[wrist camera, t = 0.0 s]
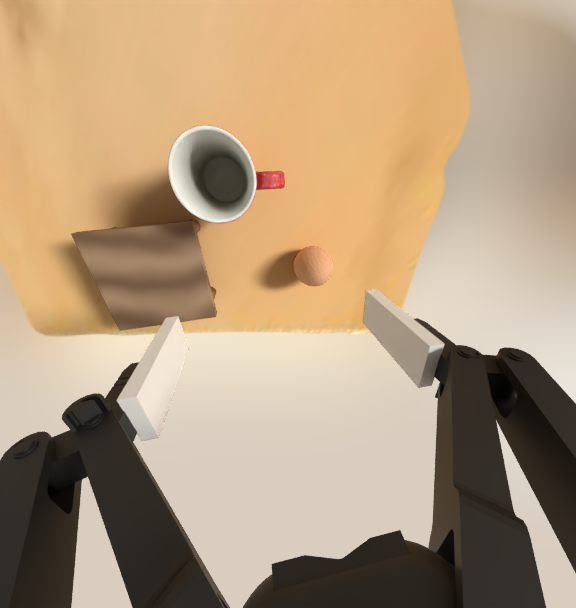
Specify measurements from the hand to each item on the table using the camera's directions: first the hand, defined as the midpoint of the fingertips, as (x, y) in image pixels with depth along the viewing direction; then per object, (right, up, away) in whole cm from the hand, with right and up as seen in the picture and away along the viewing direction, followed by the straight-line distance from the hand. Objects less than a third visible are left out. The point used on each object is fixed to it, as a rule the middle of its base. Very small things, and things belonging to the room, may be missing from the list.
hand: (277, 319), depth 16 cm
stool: (-20, +8, +24) cm, 33 cm away
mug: (-7, +21, +20) cm, 30 cm away
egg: (+4, +10, +28) cm, 30 cm away
